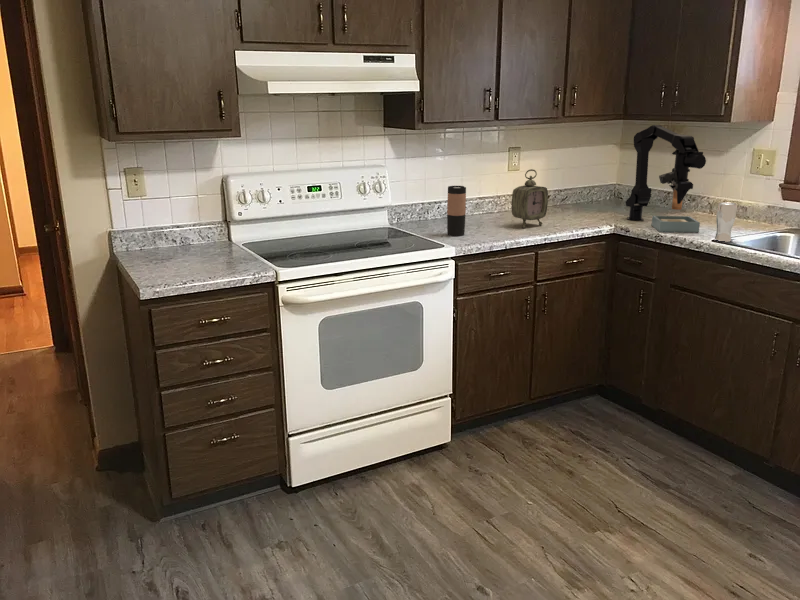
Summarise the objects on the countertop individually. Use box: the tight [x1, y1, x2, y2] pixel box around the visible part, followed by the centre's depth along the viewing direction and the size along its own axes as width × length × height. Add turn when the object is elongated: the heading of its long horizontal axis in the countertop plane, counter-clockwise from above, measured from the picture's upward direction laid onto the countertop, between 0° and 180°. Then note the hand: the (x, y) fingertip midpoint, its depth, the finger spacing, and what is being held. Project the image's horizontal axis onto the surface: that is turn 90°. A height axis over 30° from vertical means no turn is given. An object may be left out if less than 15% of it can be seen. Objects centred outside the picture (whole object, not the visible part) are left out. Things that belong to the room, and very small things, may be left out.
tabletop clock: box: [511, 168, 549, 229], centre depth 302 cm, size 14×9×25 cm, turn 126°
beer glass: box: [714, 201, 738, 243], centre depth 272 cm, size 7×7×15 cm
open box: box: [651, 215, 701, 233], centre depth 297 cm, size 15×16×4 cm
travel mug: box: [446, 185, 467, 237], centre depth 284 cm, size 8×8×20 cm
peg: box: [671, 187, 684, 210], centre depth 294 cm, size 4×4×9 cm
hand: (677, 203), depth 294 cm, fingers closed on peg, 4 cm apart
